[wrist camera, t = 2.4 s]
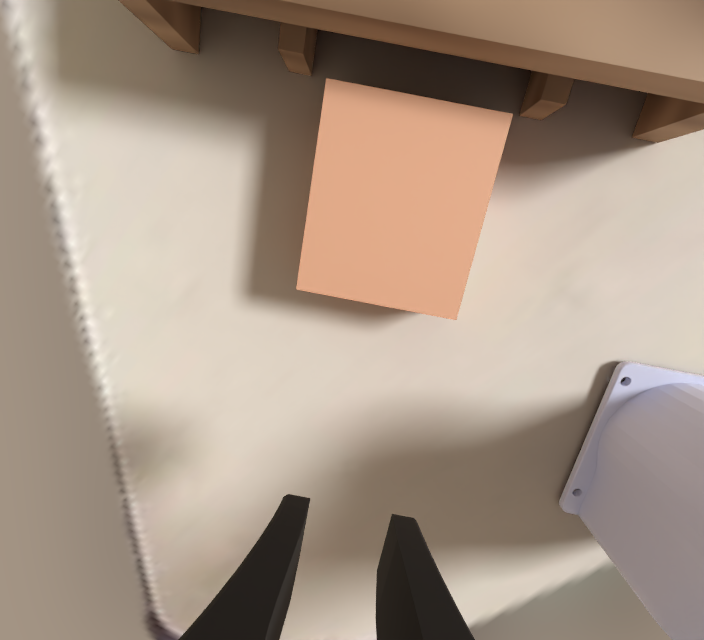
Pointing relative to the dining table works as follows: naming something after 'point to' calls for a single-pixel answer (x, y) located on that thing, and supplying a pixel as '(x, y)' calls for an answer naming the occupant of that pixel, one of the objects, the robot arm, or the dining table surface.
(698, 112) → the wooden stand
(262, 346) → the dining table surface
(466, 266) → the cover
